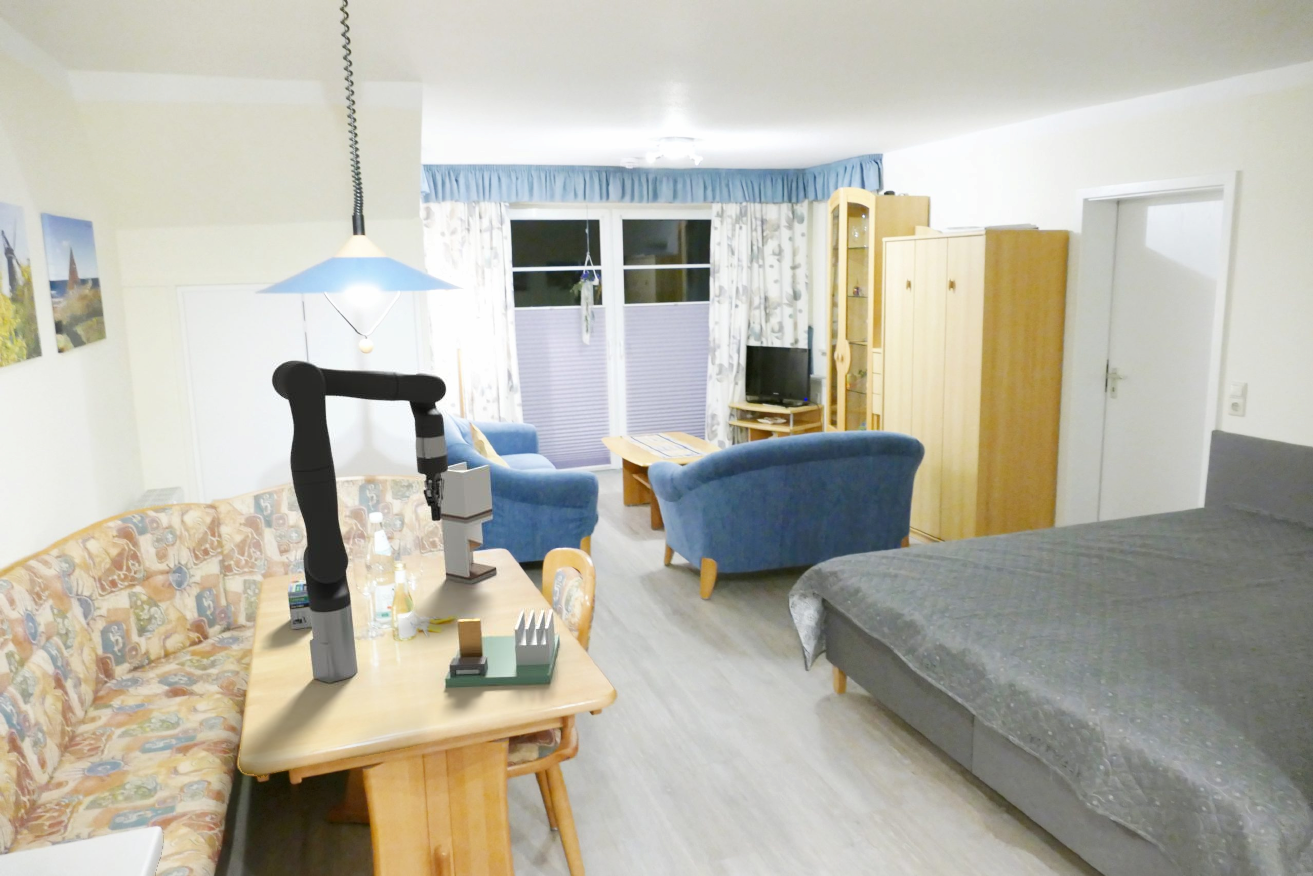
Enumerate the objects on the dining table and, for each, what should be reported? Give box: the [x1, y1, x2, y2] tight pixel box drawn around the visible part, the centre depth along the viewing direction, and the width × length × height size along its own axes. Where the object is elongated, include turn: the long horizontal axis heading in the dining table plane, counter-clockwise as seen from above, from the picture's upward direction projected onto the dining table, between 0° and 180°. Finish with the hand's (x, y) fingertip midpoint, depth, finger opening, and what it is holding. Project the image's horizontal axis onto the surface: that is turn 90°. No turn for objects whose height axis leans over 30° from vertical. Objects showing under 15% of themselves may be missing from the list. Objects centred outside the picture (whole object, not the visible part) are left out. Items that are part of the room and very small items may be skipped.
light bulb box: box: [287, 578, 312, 630], centre depth 251 cm, size 11×7×11 cm, turn 19°
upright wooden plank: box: [456, 618, 483, 674], centre depth 213 cm, size 6×5×11 cm
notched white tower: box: [441, 461, 498, 585], centre depth 283 cm, size 11×11×35 cm
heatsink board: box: [444, 609, 561, 688], centre depth 220 cm, size 24×24×11 cm
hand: (436, 520), depth 232 cm, fingers closed
